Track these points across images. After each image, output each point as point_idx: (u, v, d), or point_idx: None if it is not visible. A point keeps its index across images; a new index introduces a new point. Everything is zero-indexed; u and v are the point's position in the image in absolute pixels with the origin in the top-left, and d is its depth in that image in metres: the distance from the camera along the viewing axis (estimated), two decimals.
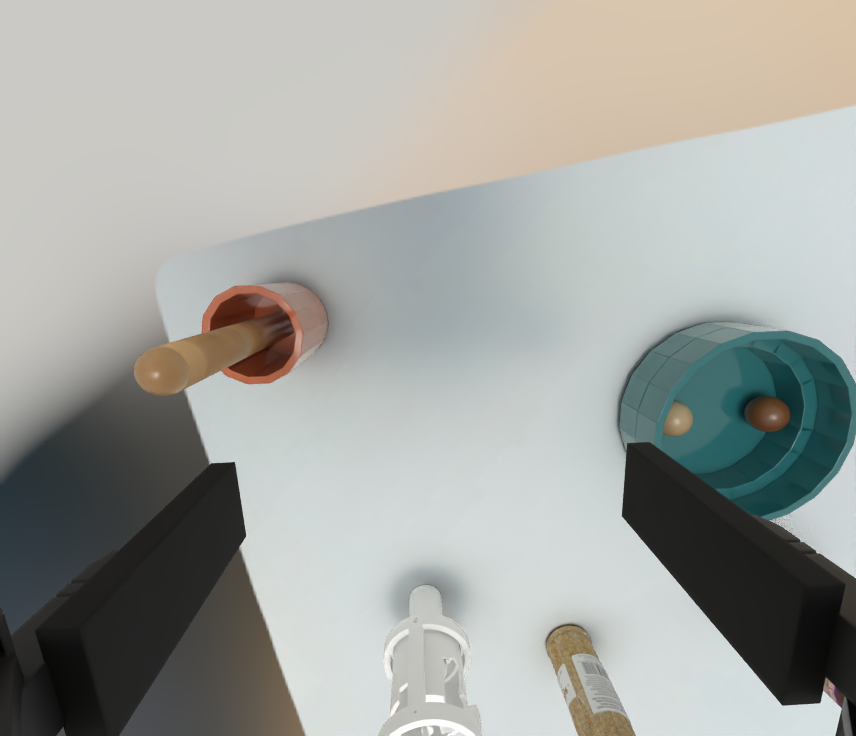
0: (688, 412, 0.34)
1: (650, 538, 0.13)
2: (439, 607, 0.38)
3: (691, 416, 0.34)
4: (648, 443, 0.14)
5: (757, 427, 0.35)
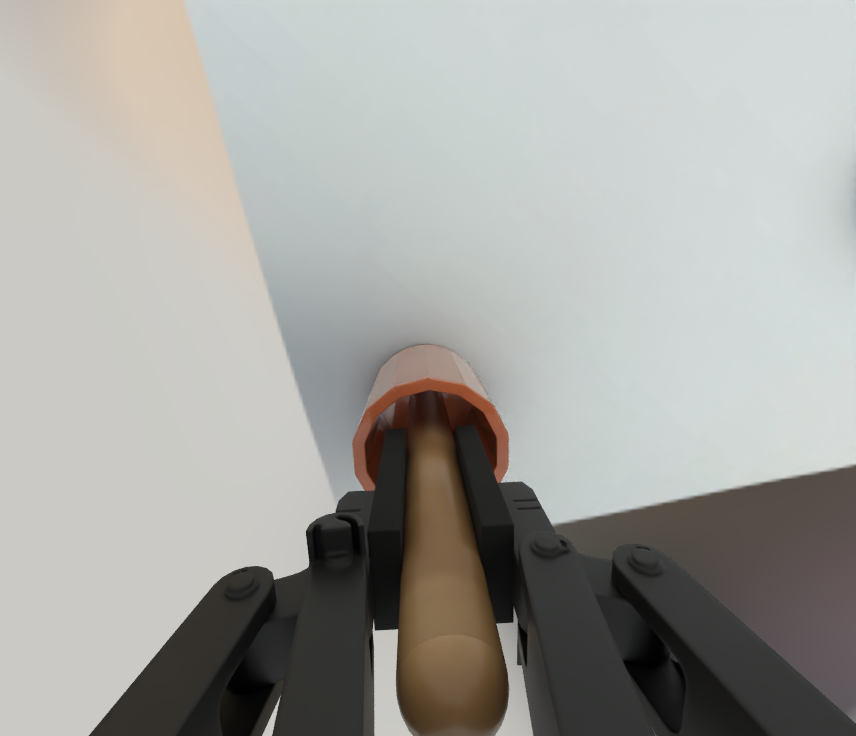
0: None
1: None
2: None
3: None
4: (474, 426, 0.16)
5: None
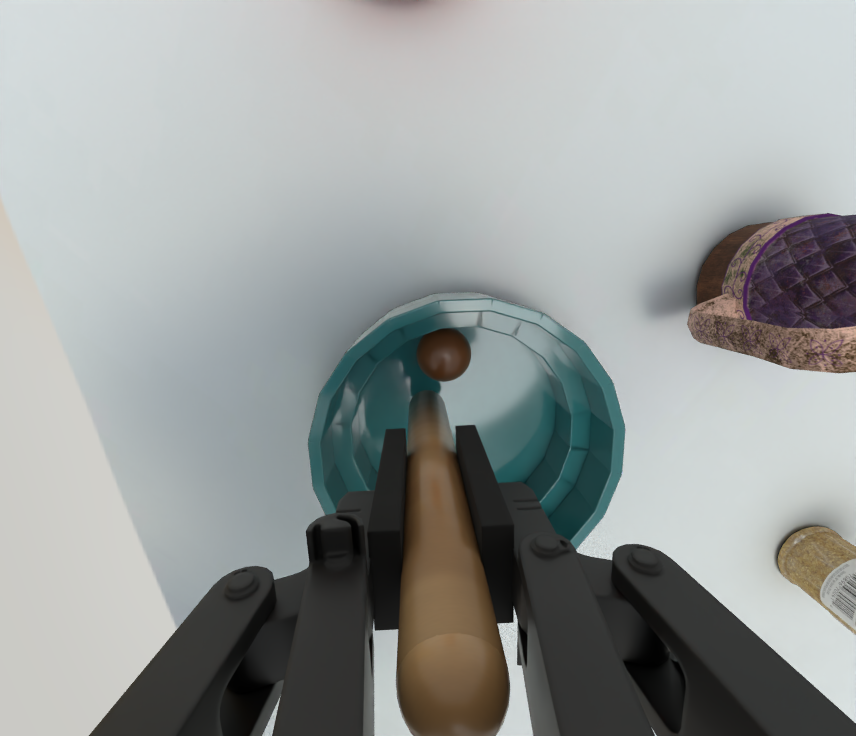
0: None
1: None
2: None
3: None
4: (474, 426, 0.16)
5: (454, 374, 0.22)
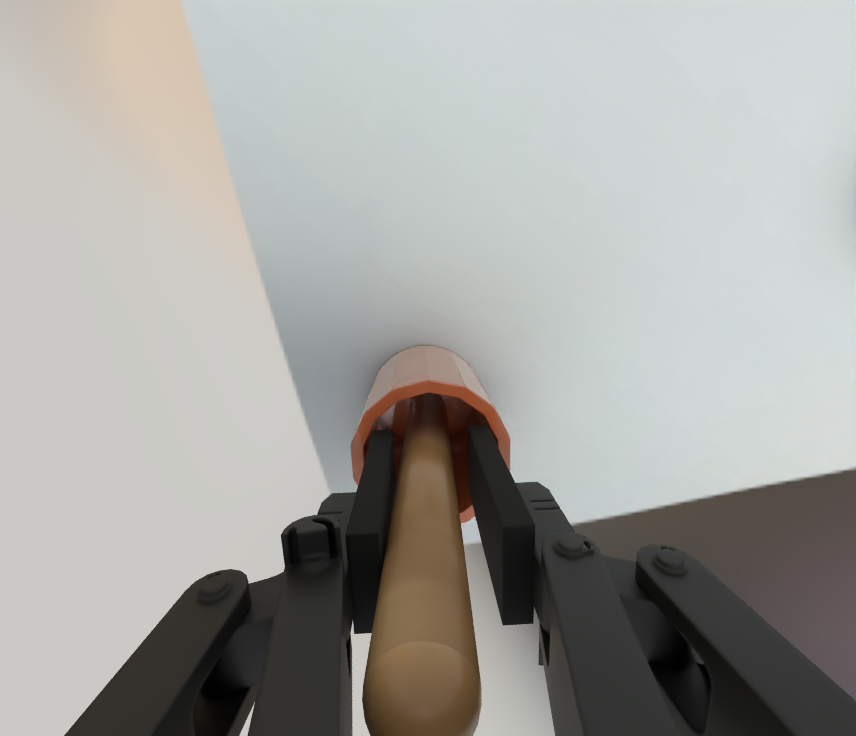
0: None
1: (474, 506, 0.15)
2: None
3: None
4: (486, 426, 0.16)
5: None
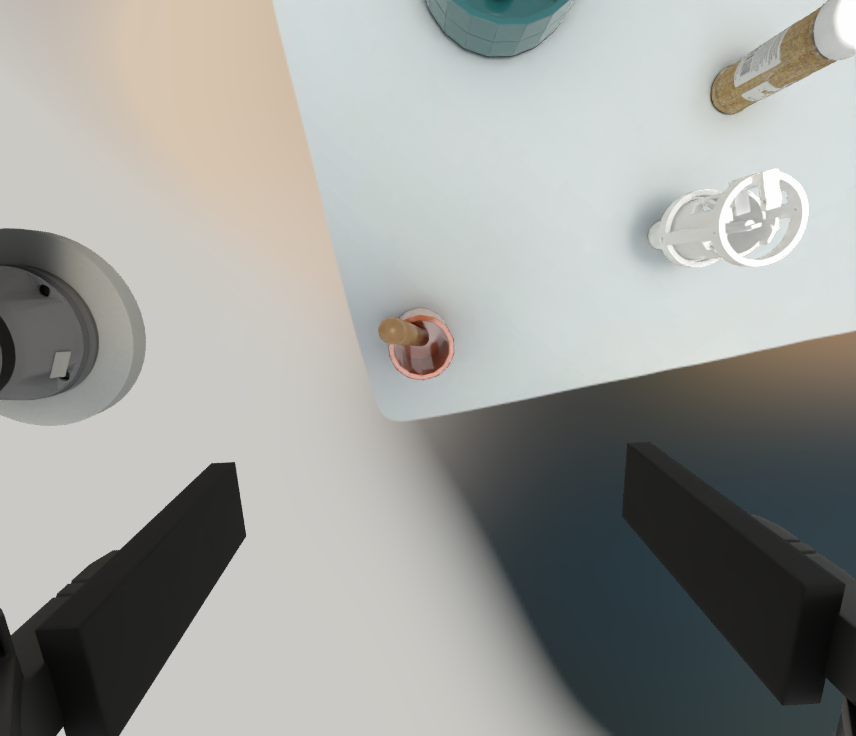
0: None
1: (649, 539, 0.13)
2: None
3: None
4: (649, 443, 0.14)
5: None
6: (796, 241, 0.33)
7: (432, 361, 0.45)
